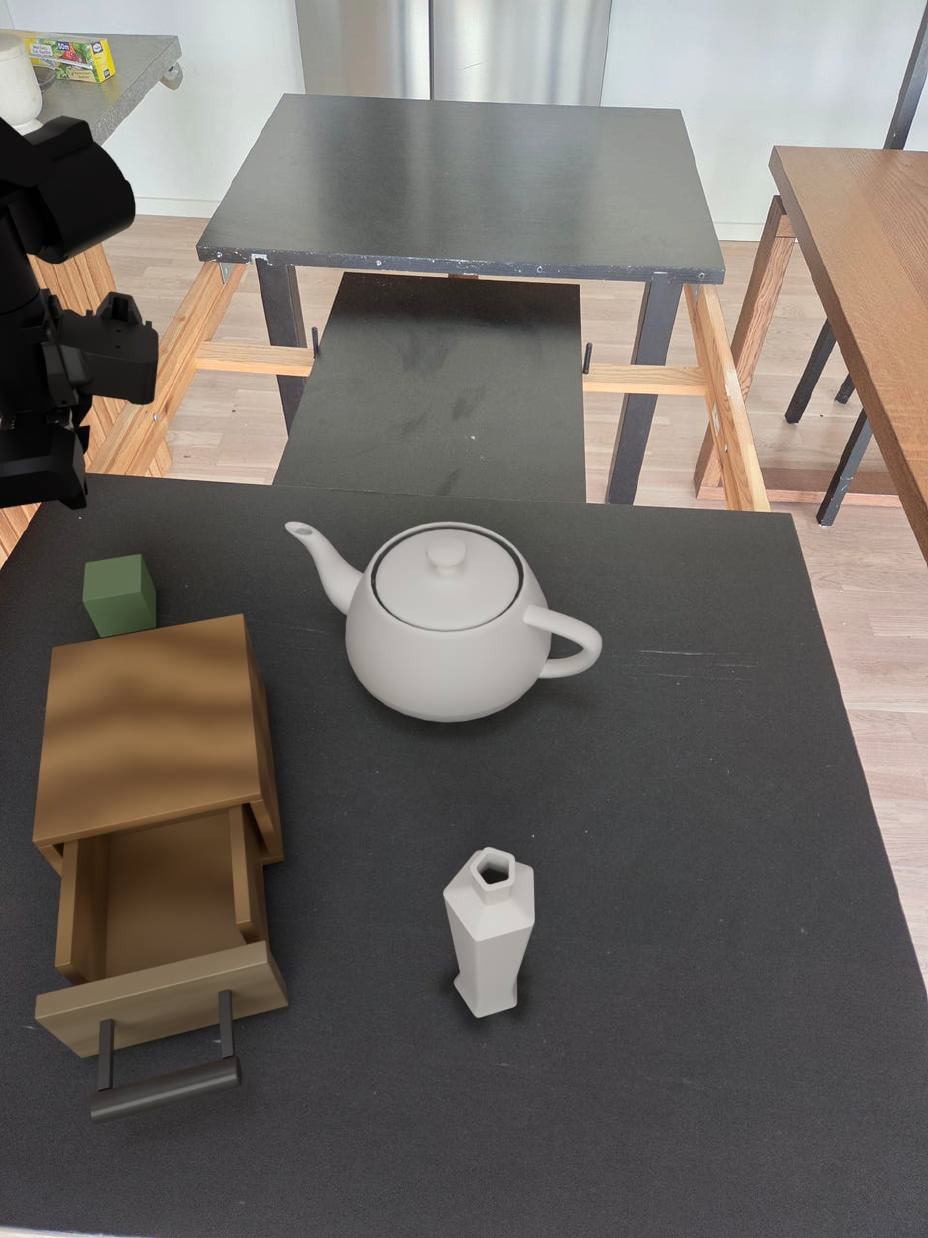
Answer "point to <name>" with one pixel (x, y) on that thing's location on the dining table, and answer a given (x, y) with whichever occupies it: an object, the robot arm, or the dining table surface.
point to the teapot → (447, 621)
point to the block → (119, 595)
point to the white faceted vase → (490, 928)
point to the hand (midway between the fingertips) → (80, 501)
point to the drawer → (162, 950)
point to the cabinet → (155, 734)
